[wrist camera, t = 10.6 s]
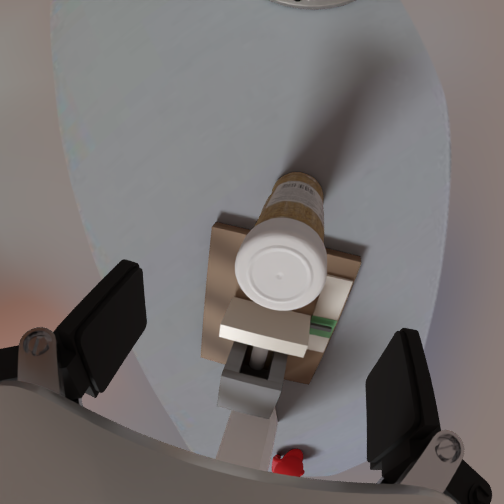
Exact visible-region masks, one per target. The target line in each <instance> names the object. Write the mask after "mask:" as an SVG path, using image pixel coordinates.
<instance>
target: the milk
mask: <svg viewBox="0 0 504 504" xmlns="http://www.w3.org/2000/svg"><path fill="white" fill-rule="evenodd" d="M277 425H278V420H277V415H276V410H275V408H274V410H273V412H272V415H271V417H270V419H265V418H261V417H256V416H252V415H248V414H244V413H240V412H237V411H233V410H232V411H231V414H230V417H229V420H228V423H227V426H226V429H225V432H224V435H223V438H222V441H221V444H220V447H219V450H218V453H217V456H216V460H220V461H224V462H227V463H231V464H235V465H239V466H244V467H248V468H252V469H257V470H262V471H267V472H268V468H269V464H270V459H271V454H272V450H273V445H274V440H275V435H276V430H277Z"/></svg>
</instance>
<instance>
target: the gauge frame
mask: <svg viewBox="0 0 504 504" xmlns="http://www.w3.org/2000/svg"><path fill="white" fill-rule="evenodd" d="M250 231H251V230H249V229H244V228H240V227H236V226H231V225H227V224H223V223H218V222H216V223H215V224H214V225H213V226H212V231H211V241H210V251H209V261H208V271H207V282H206V293H205V305H204V318H203V331H202V345H201V357H202V358H205V359H208V360H212V361H215V362H218V363H222V364H225V367H224V370H223V372H222V375H221V380H220V387H219V394H218V401H217V406H218V407H222V408H226V409H229V410H233V411H237V412H240V413H244V414H248V415H252V416H256V417H261V418H265V419H270V417H271V415H272V412H273V410H274V408H275V405H276V403H277V401H278V398H279V396H280V393H281V391H282V386H283V380H284V379H285V380H290V381H294V382H299V383H304V384H309V383H310V381H311V379H312V377H313V375H314V373H315V371H316V369H317V367H318V365H319V363H320V361H321V358H322V356H323V354H324V352H325V350H326V348H327V345H328V343H329V341H330V339H331V336H332V334H333V332H334V330H335V327H336V325H337V323H338V320H339V318H340V316H341V313H342V311H343V308H344V306H345V304H346V301H347V299H348V296H349V294H350V291H351V289H352V286H353V284H354V281H355V278H356V276H357V273H358V270H359V268H360V265H361V258H360V256H356V255H352V254H348V253H344V252H340V251H336V250H332V249H328V248H325V249H326V253H327V277H326V282H325V285H324V287H323V289H322V291H321V293H320V294H319V295H318V296H317V297H316V298H315V299H314V300H313V301H312V302H310V303H309V304H307V305H305V306H303V307H301V308H298V309H294V310H289V311H293V312H297V313H302V314H306V315H310V316H311V318H310V322H312V323H316V324H320V325H325V326H330V327H332V330H331V332H326V331H322V330H317V329H313V328H310V330H309V341H308V347H307V350H306V352H305V355H304V357H303V358H302V357H298V356H293V355H289V354H285V353H280V352H276V351H272V350H268V354H267V357H266V361H265V364H264V367H263V368H262V369H261V370H254V369H252V368H251V367H250V365H249V362H250V358H251V354H252V350H253V346H252V345H248V344H244V343H240V342H237V341H233V340H229V339H226V338H222V337H219V333H220V325H221V322H222V320H223V318H224V315H225V313H226V311H227V309H228V307H229V304H230V302H231V300H232V298H233V297H237V298H241V299H244V300H248V301H252V302H254V301H253V300H251V299H250V298H249V297H248V296H247V295H246V294H245V293H244V292H243V290H242V289H241V287H240V286H239V284H238V281H237V278H236V275H235V260H236V256H237V253H238V251H239V249H240V247H241V244H242V243H243V241H244V239H245V237H246V235H247V234H248V233H249V232H250Z"/></svg>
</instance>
